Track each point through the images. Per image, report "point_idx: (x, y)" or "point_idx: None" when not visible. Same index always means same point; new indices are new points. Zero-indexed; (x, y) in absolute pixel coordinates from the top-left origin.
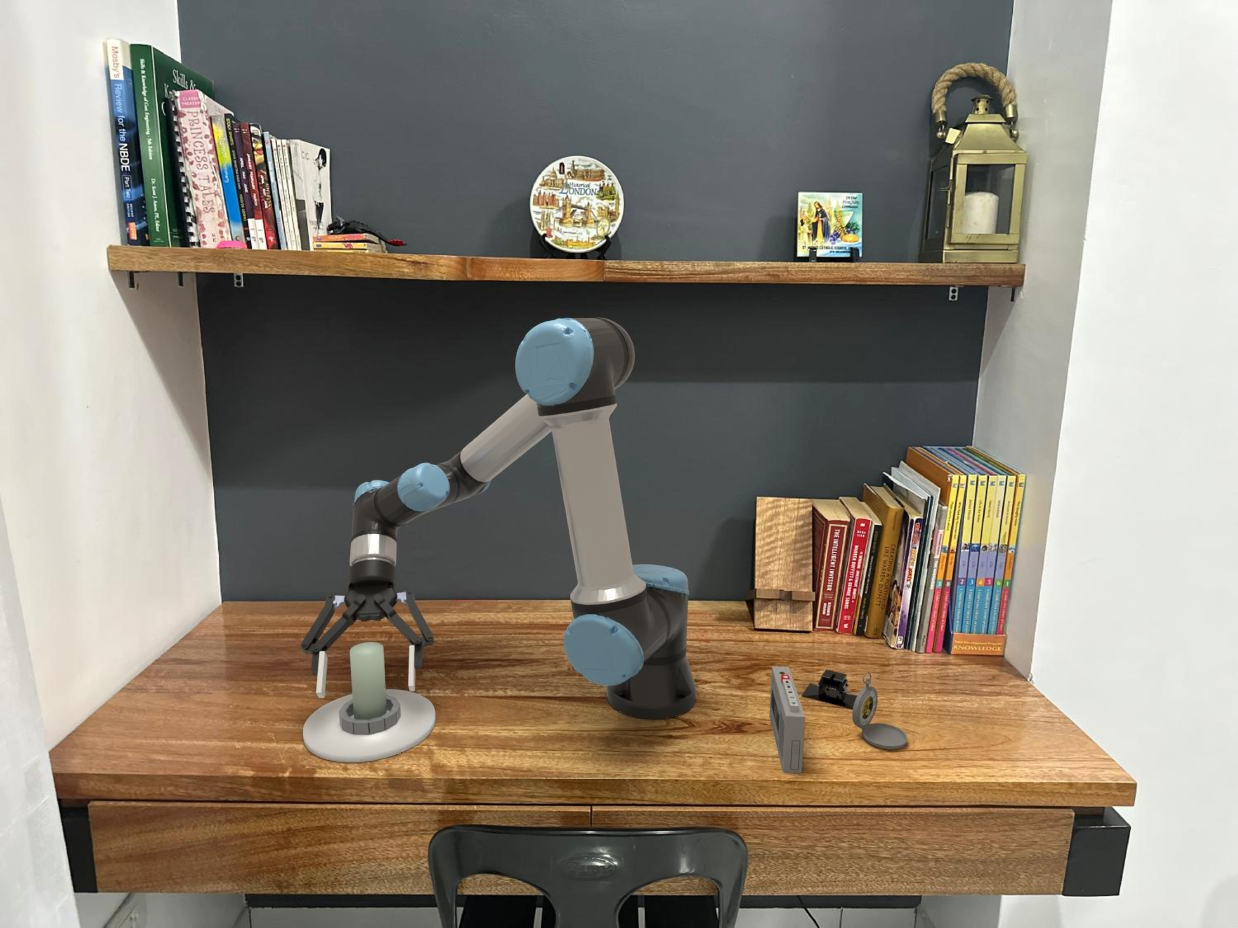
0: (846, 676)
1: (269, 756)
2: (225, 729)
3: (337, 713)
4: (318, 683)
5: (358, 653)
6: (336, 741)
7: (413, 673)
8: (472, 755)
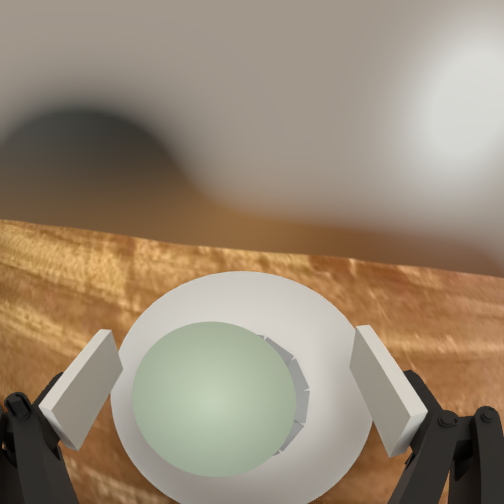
0: None
1: (398, 309)
2: (480, 384)
3: (318, 431)
4: (375, 339)
5: (244, 354)
6: (295, 320)
7: (85, 347)
8: (80, 271)
